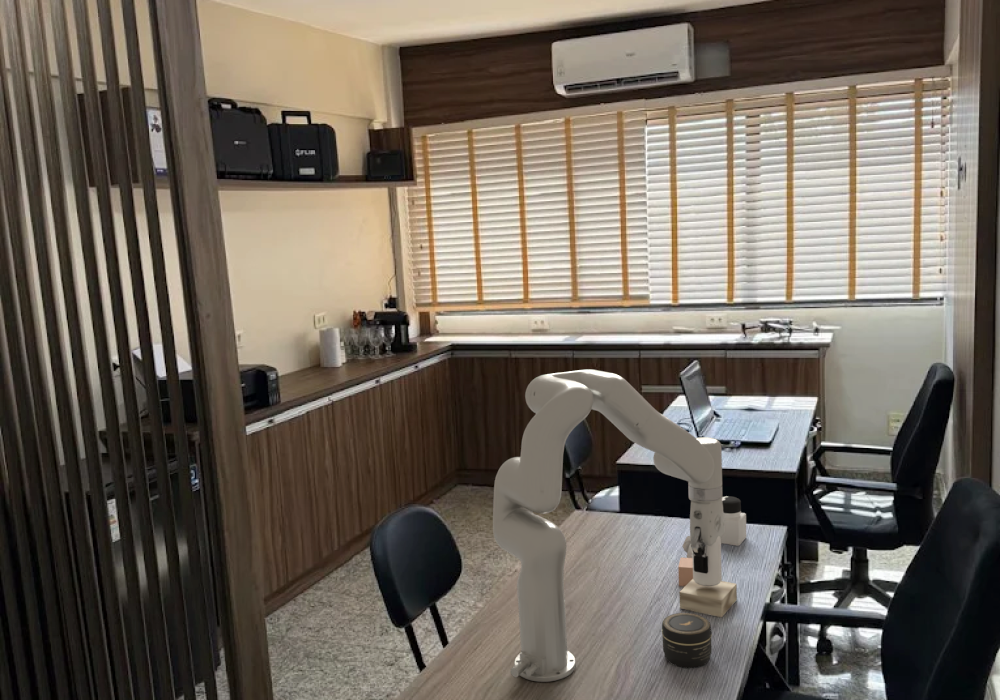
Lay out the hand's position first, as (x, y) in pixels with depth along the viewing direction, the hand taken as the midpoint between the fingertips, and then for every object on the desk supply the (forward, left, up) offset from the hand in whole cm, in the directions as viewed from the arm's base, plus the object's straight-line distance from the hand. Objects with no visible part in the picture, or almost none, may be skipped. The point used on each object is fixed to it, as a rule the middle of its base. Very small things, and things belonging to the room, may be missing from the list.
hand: (706, 565), depth 196 cm
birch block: (0, 0, -9) cm, 9 cm away
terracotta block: (+10, +8, -10) cm, 16 cm away
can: (0, 0, -4) cm, 4 cm away
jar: (-25, -5, -10) cm, 27 cm away
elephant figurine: (+21, +10, -10) cm, 25 cm away
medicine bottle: (+40, +9, -10) cm, 42 cm away
